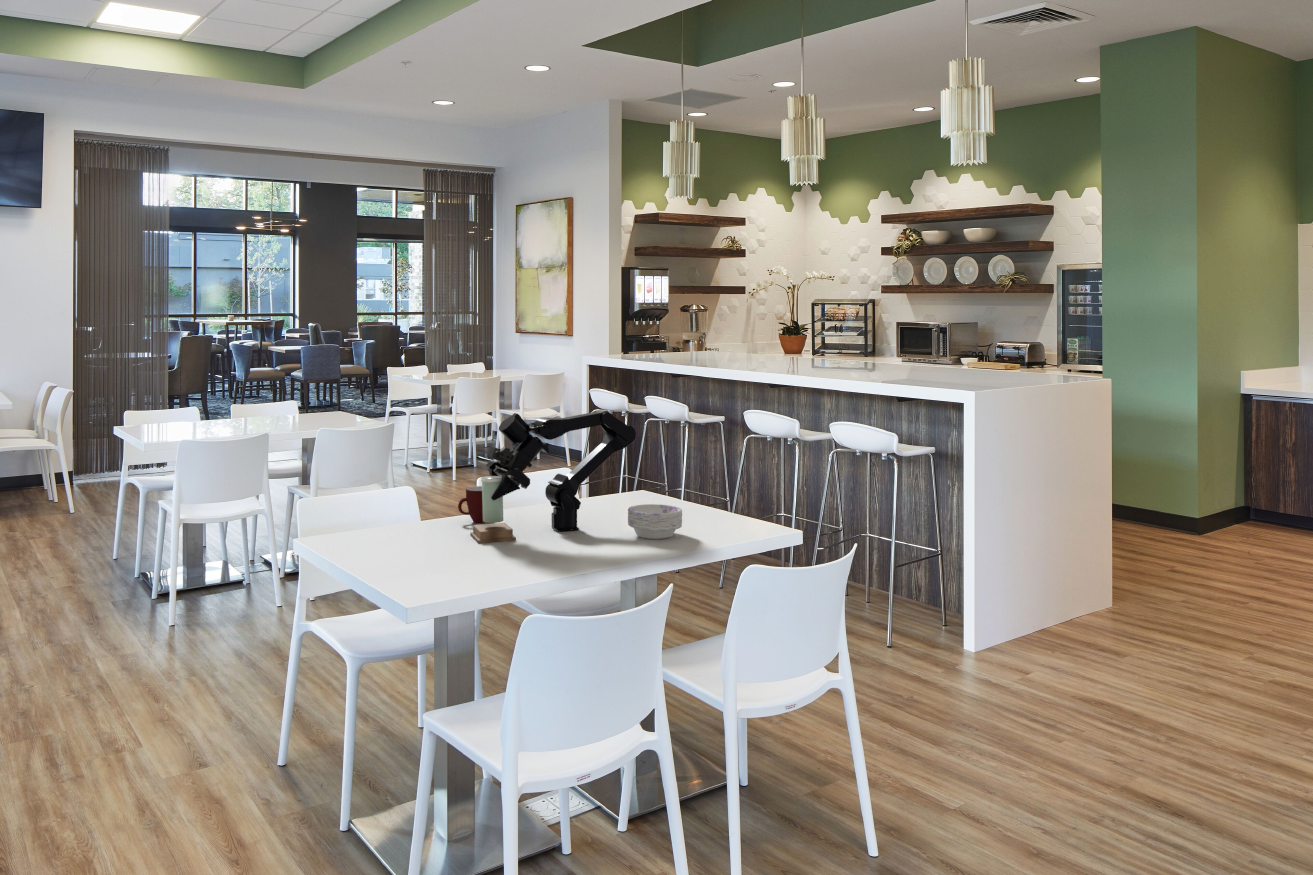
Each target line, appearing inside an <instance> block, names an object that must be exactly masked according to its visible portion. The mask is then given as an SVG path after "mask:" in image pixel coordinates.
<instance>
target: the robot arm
mask: <svg viewBox="0 0 1313 875" xmlns="http://www.w3.org/2000/svg"><path fill="white" fill-rule="evenodd" d="M598 426H599V427H600V428H601V429H602V430H603V431H604V432H605V434H604V437H603V439H602V442H601V443H599V444H598V445H597V446H596V447H595V448H594V449H593V450H592V451H591V452H590V453H589V454H588V455H586V456H585V457H584V458H583V459H582V460H581V461H580V462H579V463H578V464H577V465H576V466H575V467H574V468H573V469H572V470H571V471H570V472H568V473H566V474H561V473H557V474H555V475H554V477H553V478H552V479H551V480H549V481H547V483H548V484H547V486H546V487H545V491H544V492H545V497H546V499H547V500H548V501H549V502H550V505H551V506H552V508H553V509H552V513H551V529H553V530H554V531H556V532H566V531H567V532H568V531H578V530H580V527H579V526H578V510H580V507H581V503H582V502H581V501H580V500H579V499H578V498H577V497H576V495H577V494H578V491H579V488H580V486H581V484H583V482H585V481H586V480H587V479H588V478H589V477H590V476H591V475H592V474H593V473H594V472H595V471H596V470H597V469H598V468H600V467H601V466H602V465H603V464H604V463H605V462H607V460H608V459H609V458H610V457H612V455H613V454H615V453H617V452H619V451H622V450H624V449H626V448H627V447H628V446H631V445H632V444H633V443H634V442H635V441H636V440H637V438H636V436H637V435H636V434H637V433H636V429H635V428H634V427H633V426H632V425H630V424H629V425H628V424H626V423H625V422H623V421H622V420H620V419H618V418H617V417H615V416H614V415H613V414H612V413H611V412H610V411H608V410H602V409H599V410H596V411H591V412H587V413H582V414H581V413H580V414H577V415H570V416H567V417H538V418H536V419H535V421H534V422H530V423H527V422H526V421H525V420H524V419H523V418H522V416H521V415H520V414H519V413H517V412H513V413H512V415H510V416H508V417H507V418H505V419H504V420H502V422H501V423H500V424H499V426H498V431H499V432H500V433H501V434H502V435H503V436H504V437H505V438H506V439H508V440H509V441H510V442H511V444H518V446H516V448H515V449H514V450H513V449H510V448H508V447H505V446H503V447H501V448H498V447H495V446H491V445H490V447H489V450H488V452H487V455H486V457H487V458H489V459H492V460H489V461H488V462H487V463H486V465H485V467H486V468H487V471H488V473H489V474H488V476H502V481H501V483H500V484H499V486H498V487H497V489H496V490H495V492H494V493H493V495H492V497H491V499H492V500H496V499H498V498H500V497H502V496H503V497H504V496H506V495H508V494H511V493H513V492H515V491H517V490H520V489H521V488H522V489H524V490H527V488H528V487H530V485H531V478H529V477H528V475H526V474H525V473H524V471H525V470H526V469H527V468H529V469H530V468H531V467H532V466H533V464H532V462H533V461H534V460H535V458H536V457H537V456H538V455H539V454H540V452H544V453H546V454H549V453H550V448H549V443H548V442H544V441H542V440H541V439H545V440H548V441H549V440H554V439H557V438H559V437H562V436H564V435H565V434H566V433H569V432H574V431H577V430H583V429H587V428H593V427H598ZM532 434H533V435H532ZM534 435H535V436H534Z"/></svg>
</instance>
